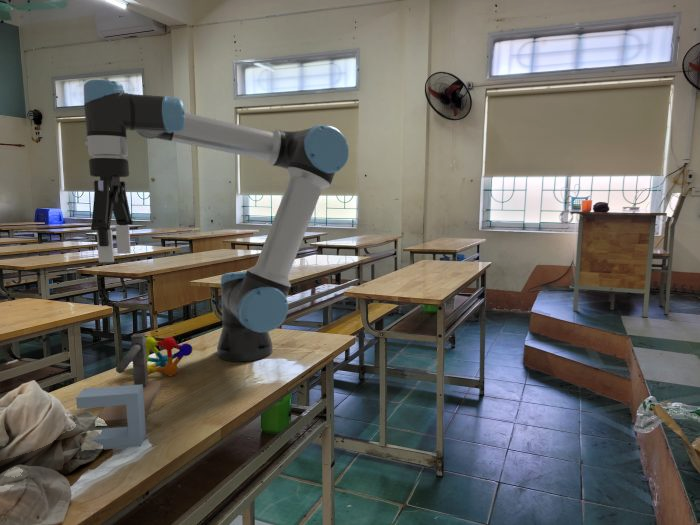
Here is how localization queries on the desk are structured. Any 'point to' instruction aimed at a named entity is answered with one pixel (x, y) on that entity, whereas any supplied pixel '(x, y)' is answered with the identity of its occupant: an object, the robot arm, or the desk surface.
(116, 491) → the desk surface
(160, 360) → the molecular model
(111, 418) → the stand
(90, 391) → the c link
